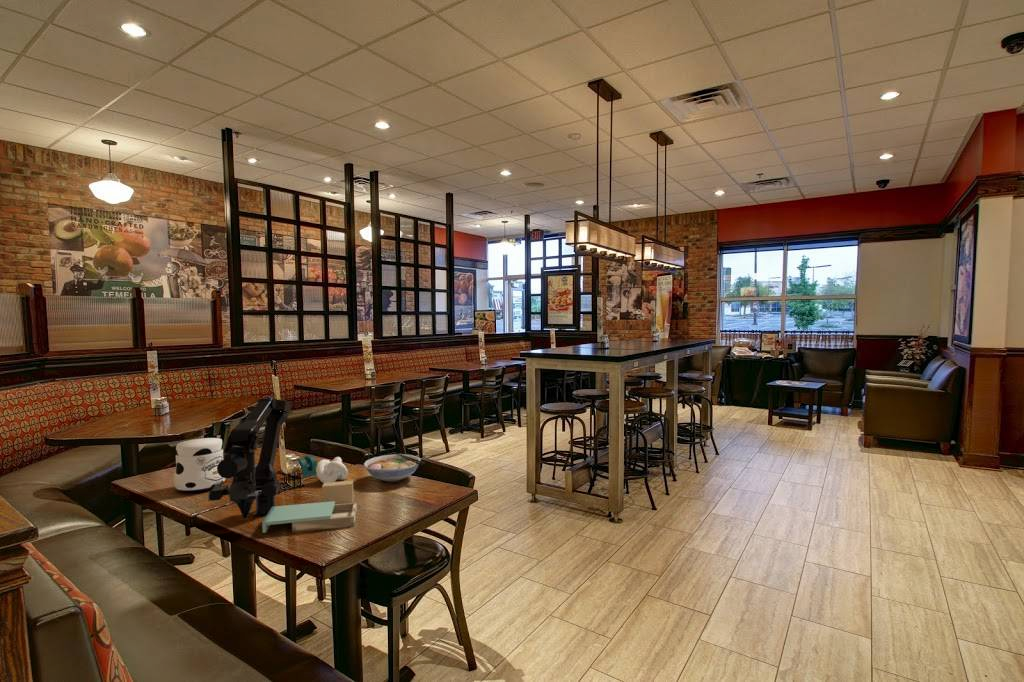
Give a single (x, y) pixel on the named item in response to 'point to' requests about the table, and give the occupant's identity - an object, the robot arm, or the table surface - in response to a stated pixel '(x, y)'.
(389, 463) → the ramen bowl
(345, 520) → the box
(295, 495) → the table surface
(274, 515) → the lid
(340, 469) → the white lumpy figurine
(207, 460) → the milk container
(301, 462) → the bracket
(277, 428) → the robot arm
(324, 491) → the tan rectangular block
